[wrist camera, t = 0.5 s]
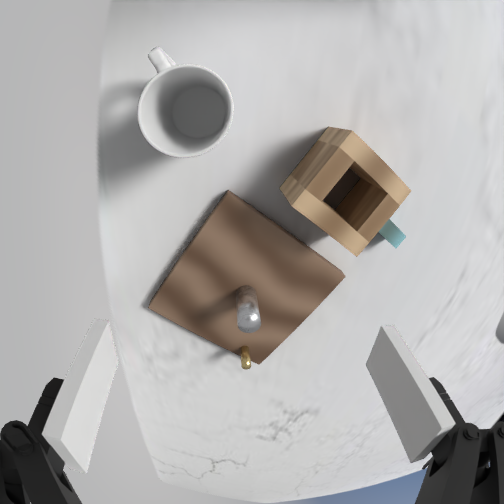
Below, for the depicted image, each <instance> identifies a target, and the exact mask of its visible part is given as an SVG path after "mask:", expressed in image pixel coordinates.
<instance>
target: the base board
mask: <svg viewBox="0 0 504 504" xmlns="http://www.w3.org/2000/svg"><path fill="white" fill-rule="evenodd" d="M344 278H345V275H344V274H343V272H342V271H341V270H340V269H338V268H337V267H336V266H334V265H333V264H332V263H330V262H329V261H328V260H326V259H325V258H323V257H322V256H321V255H319V254H318V253H317V252H315V251H314V250H313V249H311V248H310V247H308V246H307V245H306V244H304V243H303V242H302V241H300V240H299V239H297V238H296V237H295V236H293V235H292V234H290V233H289V232H288V231H286V230H285V229H283V228H282V227H281V226H279V225H278V224H276V223H275V222H274V221H272V220H271V219H269V218H268V217H266V216H265V215H264V214H262V213H261V212H259V211H258V210H256V209H255V208H254V207H252V206H251V205H249V204H248V203H246V202H245V201H243V200H242V199H241V198H239V197H238V196H236V195H235V194H233V193H232V192H230V191H229V190H228V191H227V192H226V193H225V195H224V196H223V197H222V199H221V200H220V202H219V203H218V204H217V206H216V207H215V208H214V210H213V211H212V213H211V214H210V215H209V217H208V218H207V220H206V221H205V222H204V224H203V225H202V227H201V228H200V229H199V231H198V232H197V234H196V235H195V236H194V238H193V239H192V241H191V242H190V244H189V245H188V246H187V248H186V249H185V251H184V252H183V254H182V255H181V257H180V258H179V260H178V261H177V262H176V264H175V265H174V267H173V268H172V270H171V271H170V273H169V274H168V276H167V277H166V279H165V280H164V282H163V283H162V285H161V286H160V288H159V289H158V291H157V292H156V294H155V295H154V297H153V298H152V300H151V301H150V304H149V307H148V308H149V309H151V310H153V311H155V312H156V313H158V314H160V315H162V316H164V317H165V318H167V319H169V320H171V321H173V322H174V323H176V324H178V325H180V326H182V327H184V328H186V329H188V330H189V331H191V332H193V333H195V334H197V335H199V336H201V337H203V338H205V339H207V340H209V341H211V342H213V343H215V344H217V345H219V346H221V347H223V348H225V349H227V350H229V351H231V352H233V353H235V354H237V355H240V356H241V349H240V348H241V347H242V346H248V347H249V353H250V361H252V362H255V363H257V364H260V363H261V362H262V361H263V360H265V359H266V358H267V357H268V356H269V355H270V354H271V353H272V352H273V351H274V350H275V349H276V348H277V347H278V346H279V345H280V344H281V343H282V342H283V341H284V340H285V339H286V338H287V337H288V336H289V335H290V334H291V333H292V332H293V331H294V330H295V329H296V328H297V327H298V326H299V325H300V324H301V323H302V322H303V321H304V320H305V319H306V318H307V317H308V316H309V315H310V314H311V313H312V312H313V311H314V310H315V309H316V308H317V307H318V306H319V305H320V304H321V302H322V301H323V300H324V299H325V298H326V297H327V296H328V295H329V294H330V293H331V292H332V291H333V290H334V289H335V288H336V286H337V285H338V284H339V283H340V282H341V281H342V280H343V279H344ZM244 285H249V286H251V287H253V288H254V289H255V291H256V295H257V301H258V307H259V314H260V320H261V326H260V328H259V329H258V330H257V331H255V332H253V333H245V332H242V331H241V330H240V329H239V328H238V323H237V307H236V291H237V289H238V288H239V287H241V286H244Z"/></svg>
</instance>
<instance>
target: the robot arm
mask: <svg viewBox="0 0 504 504" xmlns="http://www.w3.org/2000/svg"><path fill="white" fill-rule="evenodd" d="M118 364H119V360H118V357H117V353H116V349H115V345H114V341H113V337H112V332H111V328H110V323H109V320H102V319H94V320H93V322H92V324H91V326H90V328H89V330H88V332H87V334H86V336H85V338H84V340H83V342H82V344H81V346H80V348H79V350H78V352H77V354H76V356H75V358H74V360H73V362H72V364H71V366H70V369H69V371H68V373H67V375H66V377H65V379H64V380H63V379H58V378H53V379H52V380H51V381H50V382H49V383H48V384H47V385H46V387H45V389H44V391H43V393H42V397H40V399H39V402H38V404H37V406H36V408H35V410H34V413H33V415H32V418H31V420H30V422H29V424H28V427H27V426H26V424H24V423H23V422H21V421H17V420H16V421H10V422H9V423H7V424H5V425H4V427H3V428H2V430H1V433H0V438H1V440H0V504H30V502H31V504H82V503H81V501H80V499H79V498H78V496H77V494H76V493H75V491H74V489H73V487H72V485H71V484H70V482H69V480H68V478H67V476H66V474H65V472H64V471H63V467H64V464H66V465H67V466H68V467H69V469H72V470H75V471H79V472H82V473H87V471H88V466H89V463H90V458H91V455H92V450H93V447H94V443H95V438H96V436H97V432H98V428H99V425H100V421H101V418H102V414H103V411H104V407H105V404H106V401H107V397H108V394H109V391H110V388H111V385H112V382H113V379H114V375H115V373H116V369H117V367H118ZM366 366H367V368H368V370H369V372H370V375H371V377H372V379H373V381H374V383H375V385H376V387H377V389H378V391H379V393H380V396H381V398H382V400H383V402H384V404H385V406H386V408H387V411H388V413H389V415H390V417H391V419H392V422H393V424H394V426H395V428H396V430H397V433H398V435H399V437H400V439H401V442H402V444H403V446H404V449H405V451H406V453H407V456H408V458H409V460H410V463H413V462H416V461H419V460H422V459H424V458H425V457H426V456H427V455H428V454H429V453H430V452H431V453H432V455H433V457H432V458H431V459H430V460H429V461H428V462H427V463H426V464H425V465H424V466H423V468H422V469H425V468H426V467H427V466H428V468H427V471H426V475H425V478H424V480H423V483H422V486H421V489H420V492H419V494H418V497H417V500H416V502H415V504H504V422H497V423H496V424H495V425H494V426H493V427H492V428H491V429H479V428H478V427H477V426H476V425H474V424H472V423H465V421H464V420H463V418H462V416H461V415H460V413H459V411H458V410H457V408H456V406H455V405H454V403H453V402H452V400H450V397H449V395H448V393H446V390H445V389H444V387H443V386H442V384H441V383H440V382H439V381H437V380H436V379H435V378H434V377H432V378H428V376H427V375H426V373H425V372H424V370H423V369H422V367H421V365H420V364H419V362H418V361H417V359H416V358H415V356H414V355H413V353H412V352H411V350H410V349H409V347H408V345H407V344H406V342H405V341H404V339H403V338H402V336H401V335H400V334H399V332H398V331H397V329H396V328H395V326H394V325H386V326H381V328H380V331H379V333H378V336H377V338H376V341H375V343H374V346H373V348H372V351H371V353H370V356H369V358H368V360H367V363H366ZM488 462H490V467H489V465H488Z"/></svg>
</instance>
